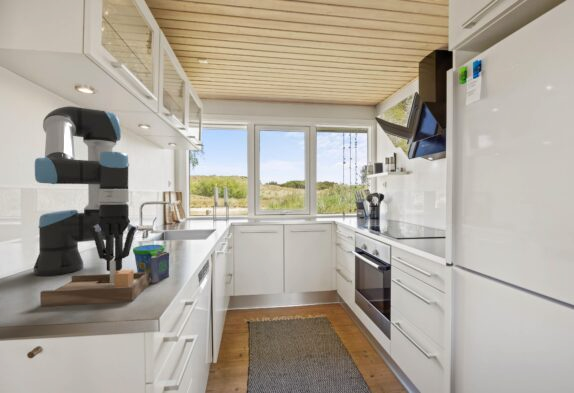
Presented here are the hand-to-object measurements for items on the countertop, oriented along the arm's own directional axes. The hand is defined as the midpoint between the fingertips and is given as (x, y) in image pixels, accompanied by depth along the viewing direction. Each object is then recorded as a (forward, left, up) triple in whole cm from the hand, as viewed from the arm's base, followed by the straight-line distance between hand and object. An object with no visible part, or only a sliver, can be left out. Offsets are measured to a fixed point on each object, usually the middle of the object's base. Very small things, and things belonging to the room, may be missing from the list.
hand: (114, 281), depth 85 cm
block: (0, +3, -1) cm, 3 cm away
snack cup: (-20, +4, -4) cm, 21 cm away
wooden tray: (0, -4, -4) cm, 5 cm away
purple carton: (-12, +10, -4) cm, 16 cm away
